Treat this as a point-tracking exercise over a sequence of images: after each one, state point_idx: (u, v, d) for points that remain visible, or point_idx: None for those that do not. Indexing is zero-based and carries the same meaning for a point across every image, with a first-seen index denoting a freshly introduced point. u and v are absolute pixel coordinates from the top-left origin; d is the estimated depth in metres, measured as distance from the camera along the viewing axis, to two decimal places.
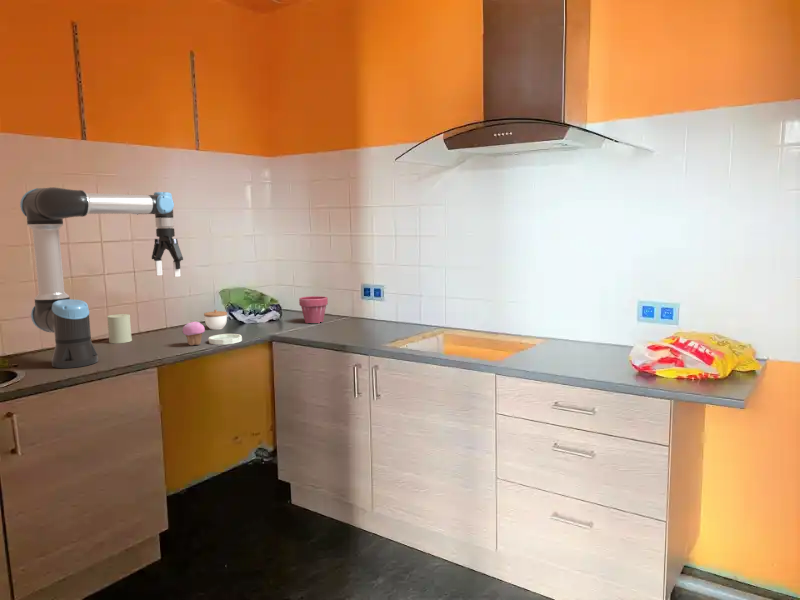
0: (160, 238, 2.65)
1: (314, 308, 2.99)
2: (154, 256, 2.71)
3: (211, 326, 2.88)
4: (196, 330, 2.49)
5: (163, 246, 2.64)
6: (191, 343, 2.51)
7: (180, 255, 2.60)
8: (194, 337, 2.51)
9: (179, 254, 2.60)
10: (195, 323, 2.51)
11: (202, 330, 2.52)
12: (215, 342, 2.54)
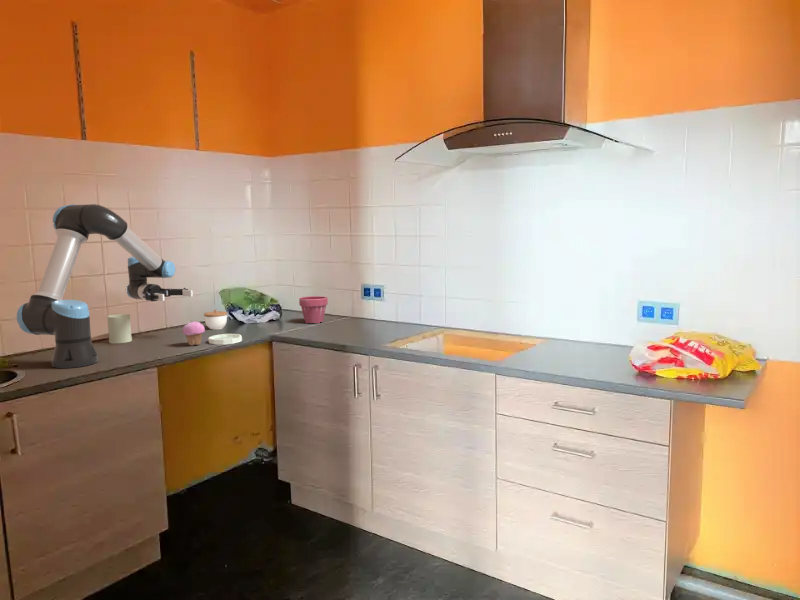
0: (151, 291, 2.64)
1: (314, 308, 2.99)
2: None
3: (211, 326, 2.88)
4: (196, 330, 2.49)
5: (159, 291, 2.64)
6: (191, 343, 2.51)
7: None
8: (194, 337, 2.51)
9: None
10: (195, 323, 2.51)
11: (202, 330, 2.52)
12: (215, 342, 2.54)
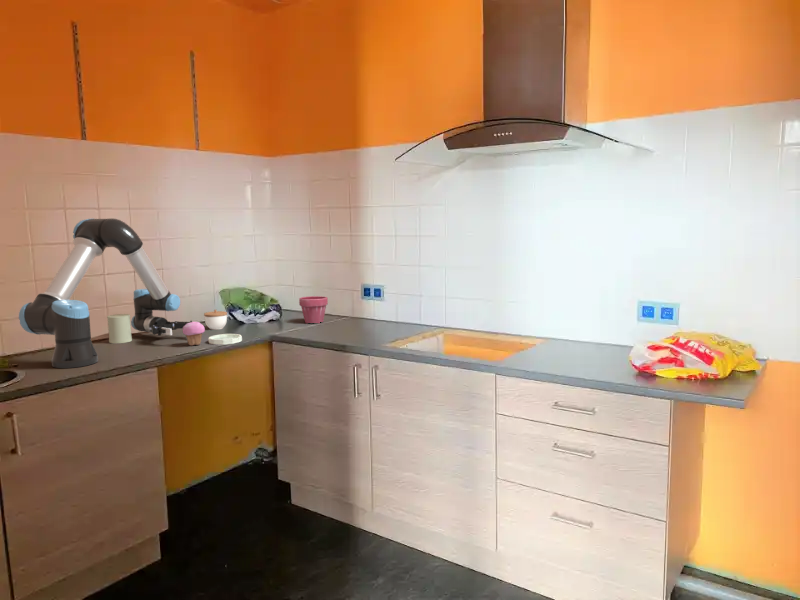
0: (157, 324, 2.65)
1: (314, 308, 2.99)
2: None
3: (211, 326, 2.88)
4: (196, 330, 2.49)
5: (166, 324, 2.64)
6: (191, 343, 2.51)
7: None
8: (194, 337, 2.51)
9: None
10: (195, 323, 2.51)
11: (202, 330, 2.52)
12: (215, 342, 2.54)
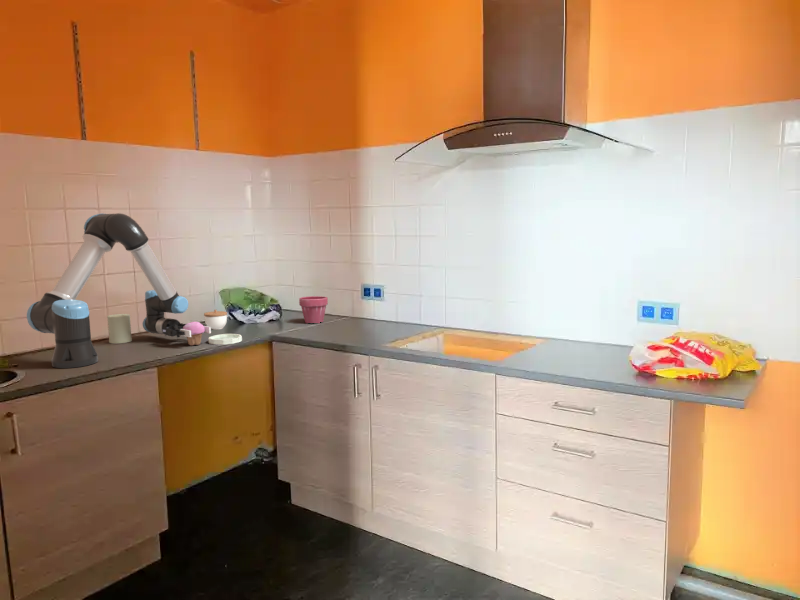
0: (170, 326, 2.59)
1: (314, 308, 2.99)
2: None
3: (211, 326, 2.88)
4: (195, 330, 2.49)
5: (178, 326, 2.58)
6: (191, 343, 2.51)
7: None
8: (194, 337, 2.51)
9: None
10: (195, 323, 2.51)
11: (202, 330, 2.52)
12: (215, 342, 2.54)
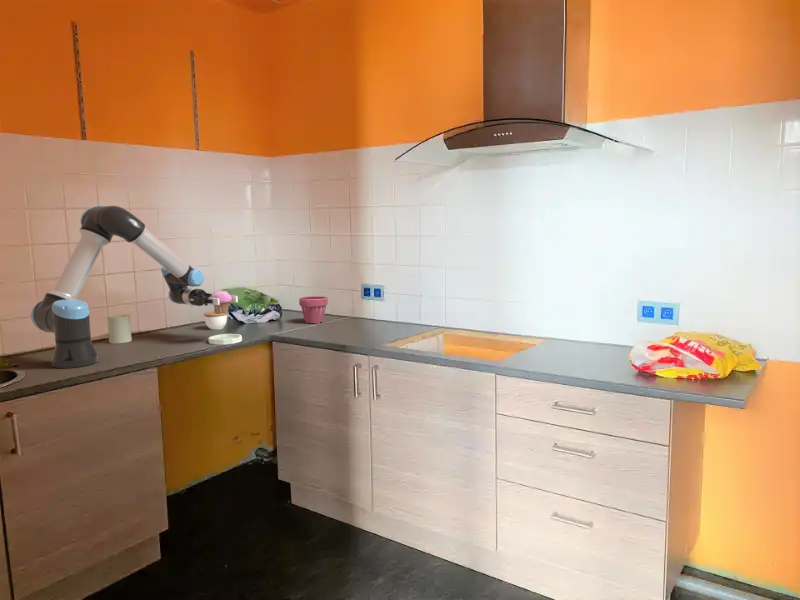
0: (197, 295, 2.64)
1: (314, 308, 2.99)
2: None
3: (211, 326, 2.88)
4: (223, 299, 2.54)
5: (205, 295, 2.63)
6: (218, 311, 2.56)
7: None
8: (222, 306, 2.56)
9: None
10: (222, 292, 2.56)
11: (229, 299, 2.57)
12: (215, 342, 2.54)
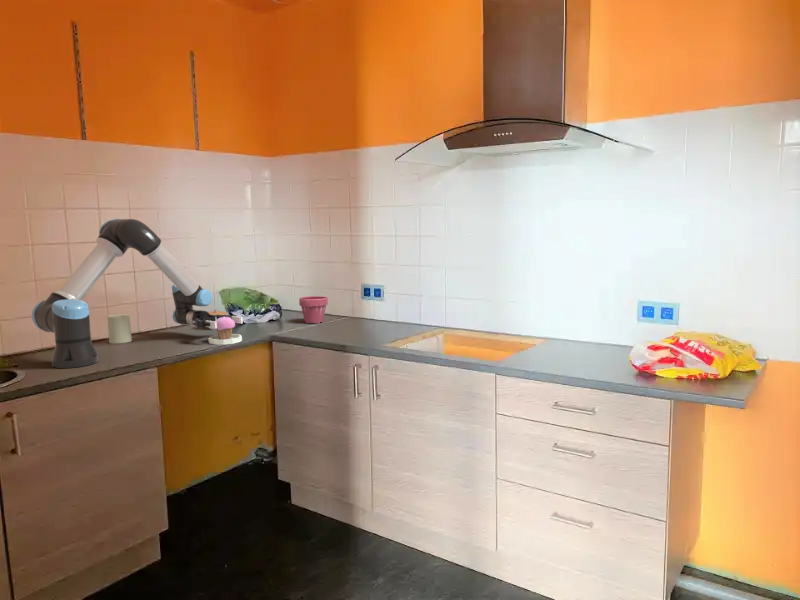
0: (200, 317, 2.65)
1: (314, 308, 2.99)
2: None
3: None
4: (227, 325, 2.56)
5: (209, 317, 2.65)
6: (222, 338, 2.57)
7: None
8: (225, 332, 2.57)
9: None
10: (226, 318, 2.58)
11: (233, 325, 2.58)
12: (215, 342, 2.54)
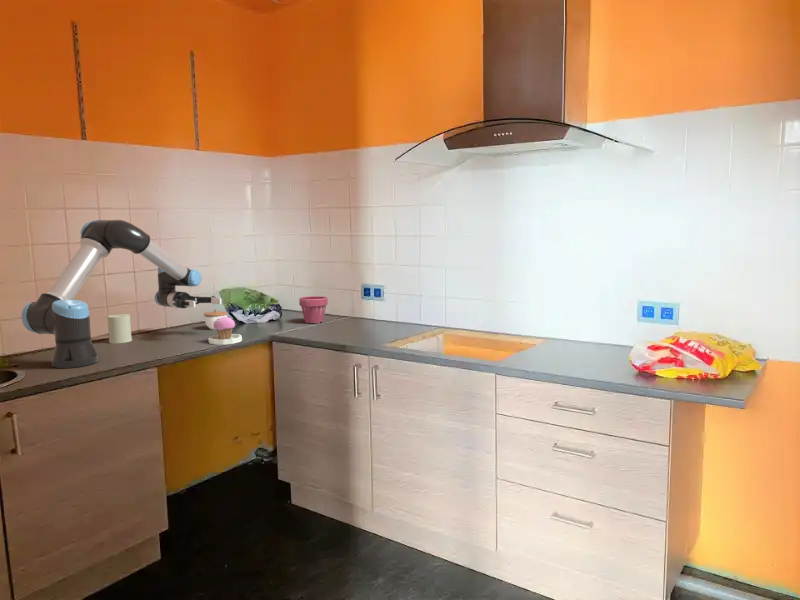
0: (180, 298, 2.73)
1: (314, 308, 2.99)
2: None
3: (211, 326, 2.88)
4: (227, 325, 2.56)
5: (189, 298, 2.72)
6: (222, 338, 2.58)
7: None
8: (225, 332, 2.57)
9: None
10: (226, 318, 2.58)
11: (233, 325, 2.58)
12: (215, 342, 2.54)
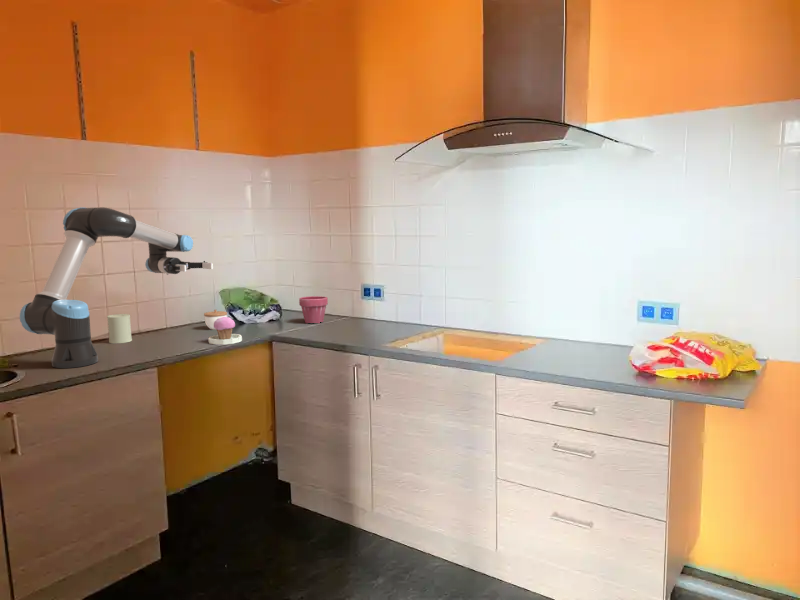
0: (171, 263, 2.70)
1: (314, 308, 2.99)
2: None
3: (211, 326, 2.88)
4: (227, 325, 2.56)
5: (180, 263, 2.69)
6: (222, 338, 2.58)
7: None
8: (225, 332, 2.57)
9: None
10: (226, 318, 2.58)
11: (233, 325, 2.58)
12: (215, 342, 2.54)
